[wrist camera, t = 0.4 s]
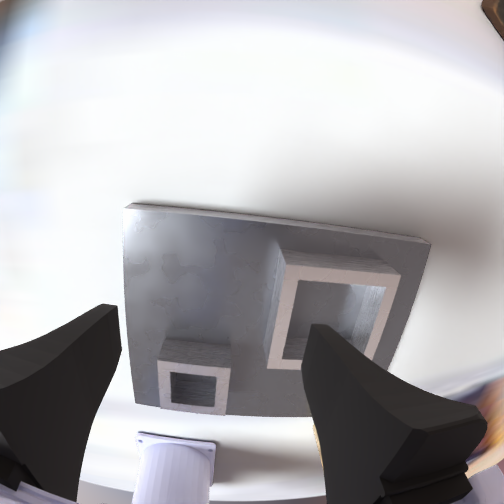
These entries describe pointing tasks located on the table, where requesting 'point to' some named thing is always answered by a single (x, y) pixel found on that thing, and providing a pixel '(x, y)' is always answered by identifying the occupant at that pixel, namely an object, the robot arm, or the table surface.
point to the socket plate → (254, 304)
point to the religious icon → (495, 13)
